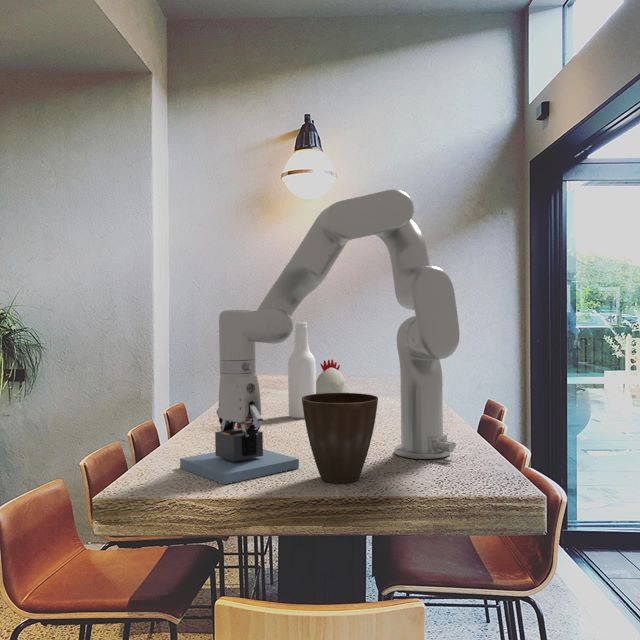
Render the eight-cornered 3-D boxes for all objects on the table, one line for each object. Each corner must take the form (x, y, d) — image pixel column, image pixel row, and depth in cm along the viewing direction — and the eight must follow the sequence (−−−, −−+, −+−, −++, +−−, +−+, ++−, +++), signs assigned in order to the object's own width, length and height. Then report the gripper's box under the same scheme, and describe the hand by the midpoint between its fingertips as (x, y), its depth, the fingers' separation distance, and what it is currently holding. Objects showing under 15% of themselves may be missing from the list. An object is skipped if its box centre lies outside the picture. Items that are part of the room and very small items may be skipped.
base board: (298, 468, 127) (298, 458, 127) (224, 484, 115) (224, 474, 115) (250, 454, 141) (250, 445, 141) (180, 467, 129) (180, 458, 129)
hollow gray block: (263, 455, 128) (262, 431, 128) (233, 461, 123) (233, 435, 123) (244, 450, 133) (243, 426, 133) (215, 455, 128) (215, 431, 128)
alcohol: (300, 419, 187) (298, 322, 187) (283, 416, 194) (281, 322, 194) (322, 416, 193) (320, 322, 192) (304, 413, 199) (303, 322, 199)
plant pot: (374, 468, 126) (373, 391, 126) (384, 488, 111) (383, 401, 111) (302, 470, 126) (301, 393, 126) (303, 490, 111) (301, 403, 111)
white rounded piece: (307, 397, 240) (307, 359, 240) (338, 394, 246) (338, 357, 246) (322, 401, 228) (322, 361, 228) (355, 398, 234) (354, 359, 234)
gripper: (276, 369, 124) (277, 456, 124) (230, 364, 137) (232, 443, 137) (245, 371, 119) (247, 462, 119) (201, 367, 132) (202, 448, 132)
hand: (239, 451), depth 128 cm, fingers closed on hollow gray block, 7 cm apart
